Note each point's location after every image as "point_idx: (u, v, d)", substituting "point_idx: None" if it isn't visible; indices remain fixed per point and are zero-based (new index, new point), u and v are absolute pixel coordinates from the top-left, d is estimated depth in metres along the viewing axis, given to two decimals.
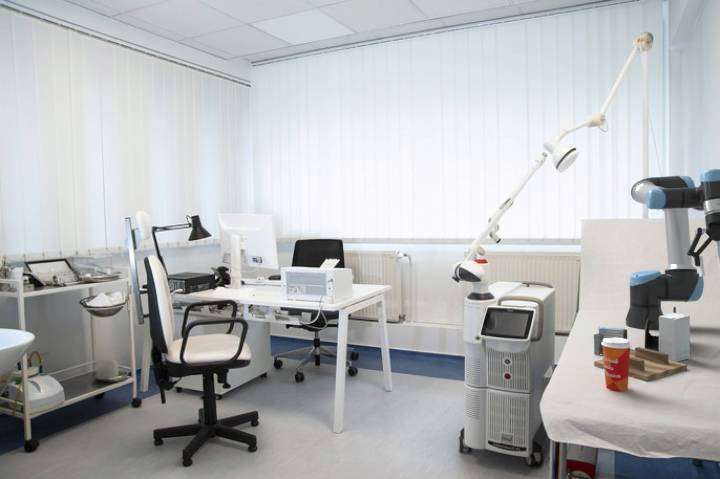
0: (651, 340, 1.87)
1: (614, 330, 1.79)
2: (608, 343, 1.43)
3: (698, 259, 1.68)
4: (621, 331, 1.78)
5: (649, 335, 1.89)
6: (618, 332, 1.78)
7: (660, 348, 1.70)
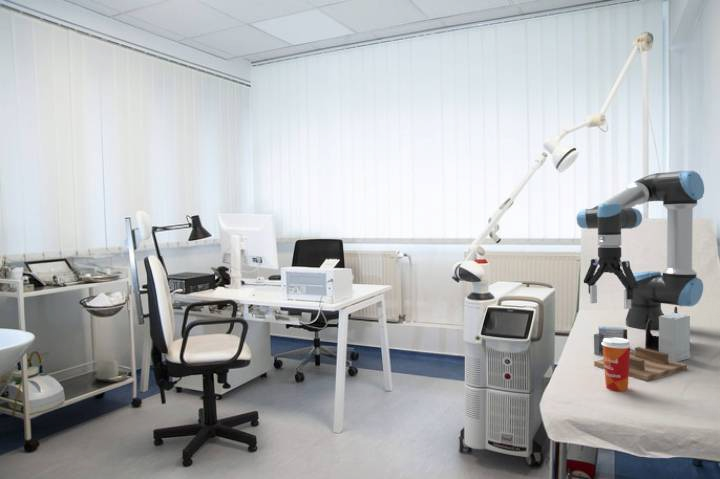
0: (652, 340, 1.87)
1: (614, 330, 1.79)
2: (608, 343, 1.43)
3: None
4: (621, 331, 1.78)
5: (650, 335, 1.89)
6: (618, 332, 1.78)
7: (660, 348, 1.70)
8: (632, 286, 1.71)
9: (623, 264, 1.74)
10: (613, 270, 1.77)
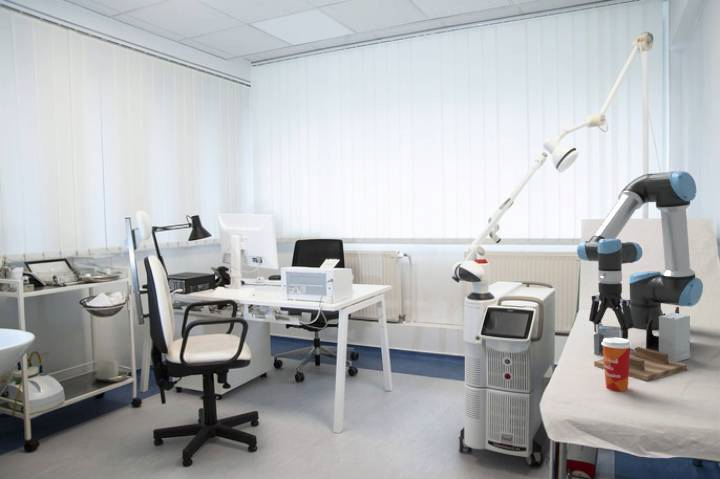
0: (653, 340, 1.86)
1: (614, 330, 1.79)
2: (608, 343, 1.43)
3: None
4: None
5: (651, 335, 1.88)
6: (618, 332, 1.78)
7: (660, 348, 1.70)
8: (627, 326, 1.74)
9: (623, 303, 1.75)
10: (612, 307, 1.78)
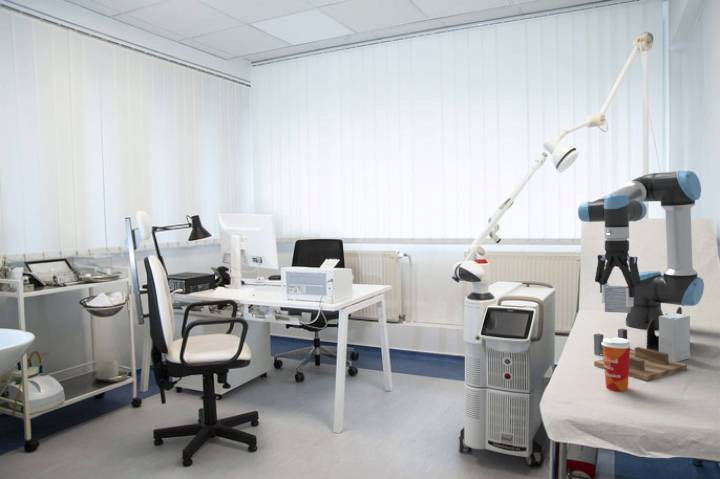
0: (655, 340, 1.86)
1: (620, 289, 1.72)
2: (608, 343, 1.43)
3: (602, 287, 1.79)
4: None
5: (653, 335, 1.88)
6: (624, 291, 1.72)
7: (660, 348, 1.70)
8: (634, 284, 1.67)
9: (630, 260, 1.68)
10: (619, 265, 1.71)
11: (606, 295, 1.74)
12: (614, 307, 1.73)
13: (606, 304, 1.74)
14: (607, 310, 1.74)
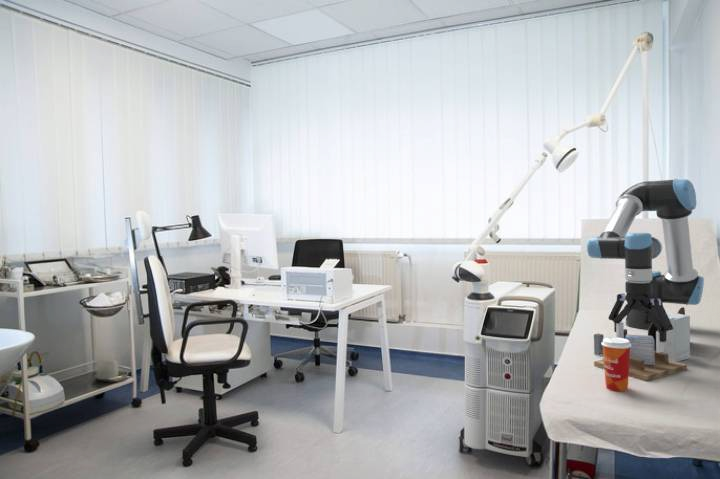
0: None
1: (644, 339, 1.59)
2: (608, 343, 1.43)
3: None
4: (652, 341, 1.58)
5: (655, 335, 1.88)
6: (648, 342, 1.59)
7: None
8: (666, 328, 1.53)
9: (655, 302, 1.55)
10: (643, 308, 1.58)
11: None
12: None
13: None
14: None
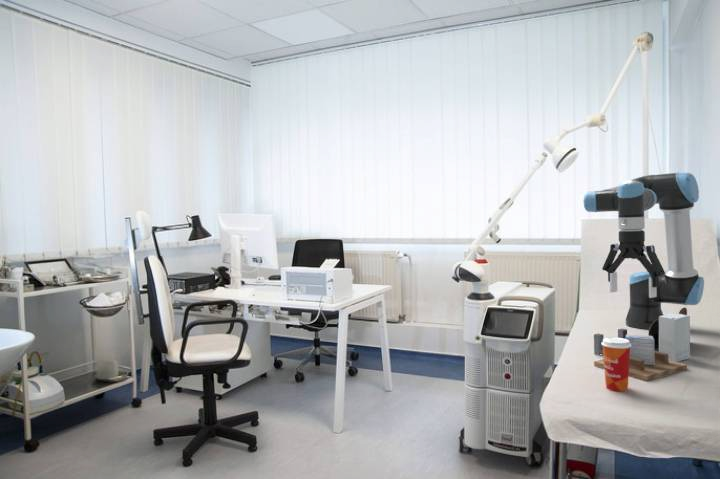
0: (658, 340, 1.86)
1: (644, 339, 1.59)
2: (608, 343, 1.43)
3: (610, 275, 1.72)
4: (652, 341, 1.58)
5: (656, 335, 1.88)
6: (648, 342, 1.59)
7: (660, 348, 1.70)
8: (658, 273, 1.57)
9: (648, 249, 1.59)
10: (636, 256, 1.62)
11: None
12: None
13: None
14: None
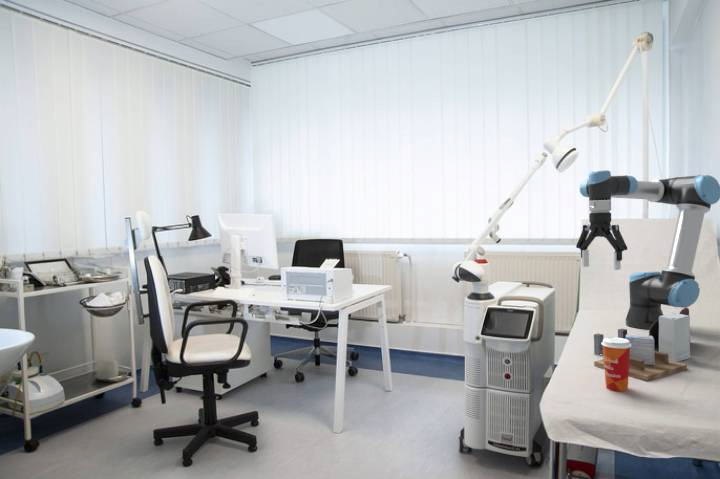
0: None
1: (644, 339, 1.59)
2: (608, 343, 1.43)
3: None
4: (652, 341, 1.58)
5: (658, 336, 1.88)
6: (648, 342, 1.59)
7: (660, 348, 1.70)
8: (621, 248, 1.82)
9: (613, 227, 1.84)
10: (603, 234, 1.87)
11: None
12: None
13: None
14: None
